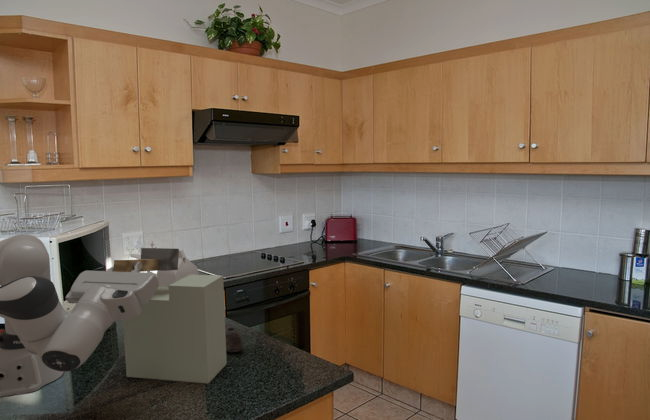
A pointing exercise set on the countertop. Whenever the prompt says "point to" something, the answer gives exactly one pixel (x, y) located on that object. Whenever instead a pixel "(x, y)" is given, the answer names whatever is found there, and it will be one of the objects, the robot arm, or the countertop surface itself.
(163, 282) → the milk
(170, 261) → the mallet
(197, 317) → the block
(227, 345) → the perforated stone tool
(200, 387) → the countertop surface
